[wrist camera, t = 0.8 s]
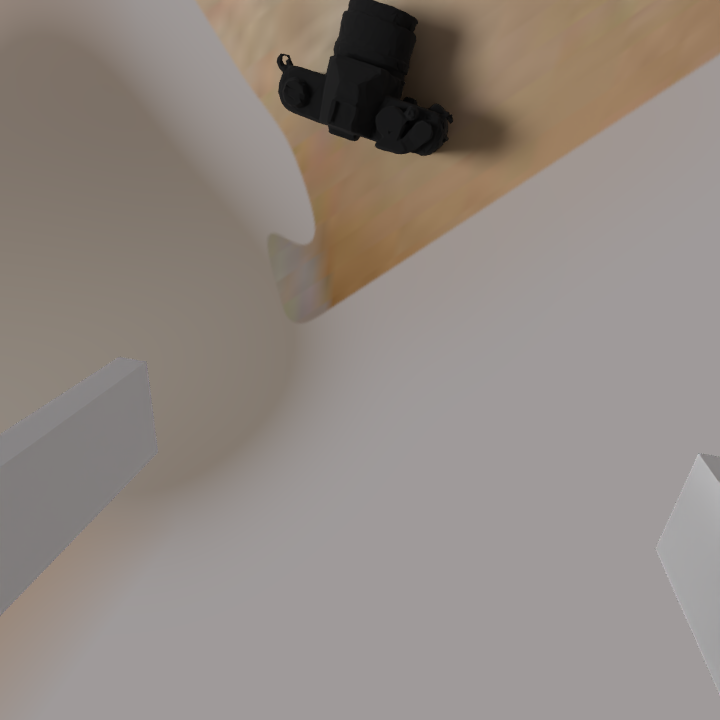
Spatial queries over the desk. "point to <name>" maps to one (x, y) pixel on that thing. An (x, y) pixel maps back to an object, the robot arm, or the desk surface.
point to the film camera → (367, 84)
